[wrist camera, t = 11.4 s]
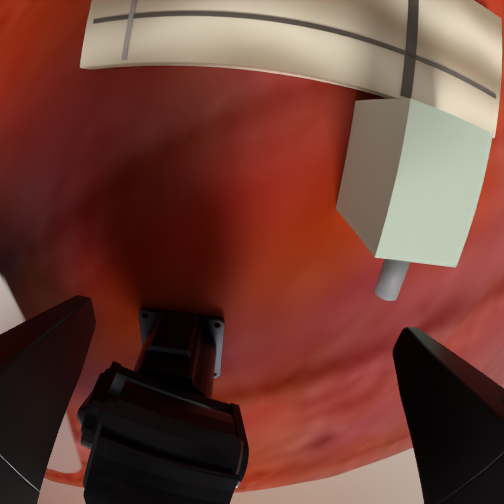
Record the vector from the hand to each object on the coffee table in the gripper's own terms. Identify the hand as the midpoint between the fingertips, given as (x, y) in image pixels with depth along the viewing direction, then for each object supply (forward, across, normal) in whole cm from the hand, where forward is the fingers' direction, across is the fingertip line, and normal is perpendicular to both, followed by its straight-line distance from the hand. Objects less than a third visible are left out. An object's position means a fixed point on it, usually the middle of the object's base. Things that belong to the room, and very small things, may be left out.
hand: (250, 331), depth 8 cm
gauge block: (+12, -8, -2) cm, 15 cm away
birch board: (+12, -2, -13) cm, 18 cm away
